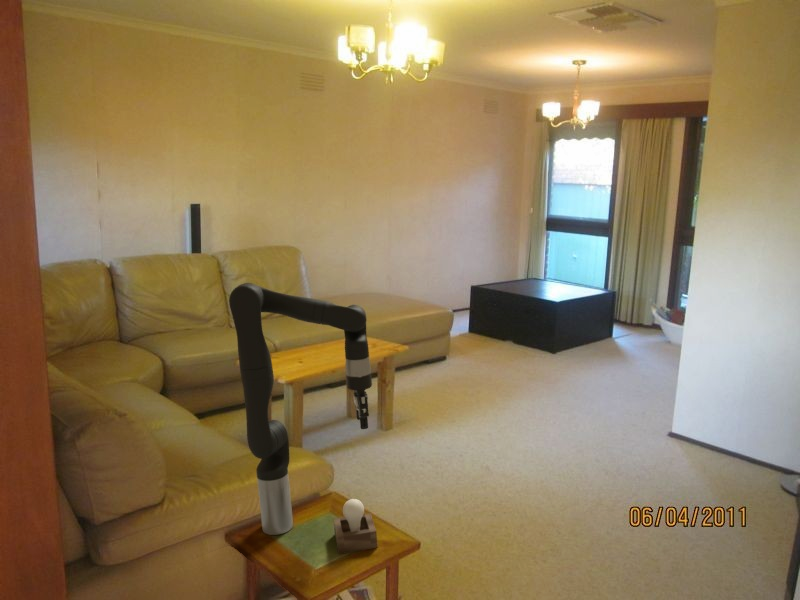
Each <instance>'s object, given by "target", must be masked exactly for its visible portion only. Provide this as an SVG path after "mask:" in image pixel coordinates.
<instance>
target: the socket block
mask: <svg viewBox="0 0 800 600" xmlns="http://www.w3.org/2000/svg"><path fill="white" fill-rule="evenodd" d="M333 527H334V537H335V542H336V547H337V552H338V555H341V554H347V553H354V552H359V551H360V552H361V551H366V550H372V549H377V548H378V538H377V536H378V535H377V529H376V527H375V522H374V520H373V517H372V514H371V512H369V513H364V514H363V516H362V518H361V522H360V531H354V532H351V529H350V527H349V523H348V521H347V519H346V518H345V516H342V517H337V518H336V517H335V518H333Z"/></svg>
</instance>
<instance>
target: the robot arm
mask: <svg viewBox="0 0 800 600" xmlns="http://www.w3.org/2000/svg"><path fill="white" fill-rule="evenodd" d="M228 302H229V303H228V304H229V305H228V306H229V309H230V312H231V316H232V319H233V323H234V326H235V327H234V328H235V332H236V338H237V353H238V362H239V363H238V364H239V365H238V366H239V373H240V379H241V384H242V390H243V399H244V405H245V414H246V418H245V419H246V437H247V438H246V441H247V444H248V445H247V446H248V449H249V450H250V453H251V454H252V455H253V456H254V457H255V458H257V459H261V460H260V461H259V463H258V464H257V466H256V472H255V473H256V480H257V481H256V482H257V489H258V490H257V491H258V498H259V499H258V500H259V509H260V519H261V527H262V531H263V533H264V534H266V535H270V536H277V535H282V534H285V533H288V532H289V531H290V530H291V529H292V528H293V527H294V521H293V510H292V500H291V499H292V498H291V490H290V480H289V477H290V476H289V469H288V468H289V465H290V442H289V441H290V440H289V435H288V430H287V428H286V426H285V425H284V424H283V423H282V422H281V421H280V420H277V419H270V420H269V405H270V402H271V401H270V400H271V396H272V392H273V388H274V381H275V379H274V377H275V376H274V370H273V362H272V357H271V354H270V353H271V352H270V350H269V347H268V343H267V342H266V339H265V335H264V332H263V325H262V323H263V322H262V313H271V314H277V315H282V316H285V317H289V318H291V319H292V318H293V319H295V320H298V321H302V322H307V323H311V324H315V325H323V326H329V327H333V328H336V329H339V330H343V332H344V354H345V365H344V367H345V378H346V388H347V390H350V391H353V393H352V396H353V403H354V407H355V412H356V419H357V421H359V425H360V429H361V430H367V429H369V423H368V421H369V420H368V417H369V415H370V413H369V402H368V399H369V396H368V393H367V391H366V390H367V389H370V388H372V385H373V381H372V380H373V378H372V367H371V360H370V351H369V342H368V337H367V336H368V335H367V315H366V314H367V313H366V311H365V309H364V308H363V307H362V306H360V305H358V304H350V305H348V306H343V305H339V304H338V305H337V304H335V303H333V302H331V301H327V300H322V299H316V298H310V297H305V296H297V295H291V294H286V293H282V292H277V291H274V290H272V289H271V290H270V289H268V288H265V287H263V286H259V285H256V284H254V283H252V282H244V283H241V284H238V286H236V287H234V288H233V290H231V293H230V294H229V298H228Z"/></svg>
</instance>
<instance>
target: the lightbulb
mask: <svg viewBox="0 0 800 600" xmlns="http://www.w3.org/2000/svg"><path fill="white" fill-rule="evenodd" d="M342 514H343V517H345V518H346V519H347V521H348V523H349V527H350V529H351V532H354V531H360V522H361V518H362V516H363V514H365V507H364V504H363V502H361V500H359V499H356V498H351V499H348V500H346V502H345V503H344V505H343V507H342Z"/></svg>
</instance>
